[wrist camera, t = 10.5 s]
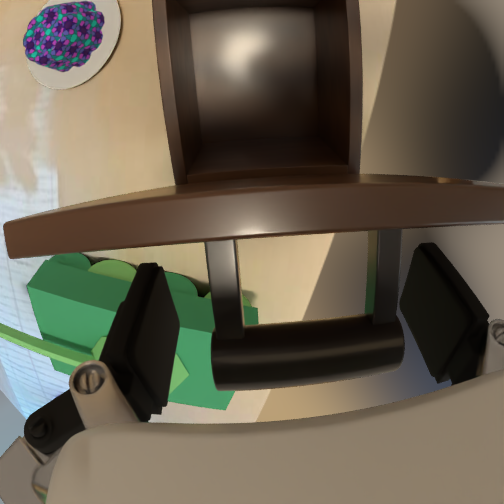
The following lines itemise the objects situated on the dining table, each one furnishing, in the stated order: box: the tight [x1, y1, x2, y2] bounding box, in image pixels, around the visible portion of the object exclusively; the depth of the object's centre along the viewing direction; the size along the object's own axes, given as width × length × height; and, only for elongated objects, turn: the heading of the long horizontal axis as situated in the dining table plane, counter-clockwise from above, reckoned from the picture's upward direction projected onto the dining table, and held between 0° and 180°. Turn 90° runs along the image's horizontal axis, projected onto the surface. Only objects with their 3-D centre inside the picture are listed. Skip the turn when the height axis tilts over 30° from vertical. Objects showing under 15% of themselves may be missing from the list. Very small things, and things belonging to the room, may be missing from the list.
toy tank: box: [0, 253, 258, 410], centre depth 35 cm, size 18×12×35 cm
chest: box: [152, 0, 363, 185], centre depth 20 cm, size 15×13×10 cm
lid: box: [3, 174, 504, 391], centre depth 13 cm, size 16×13×5 cm
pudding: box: [23, 0, 121, 90], centre depth 18 cm, size 12×12×5 cm
